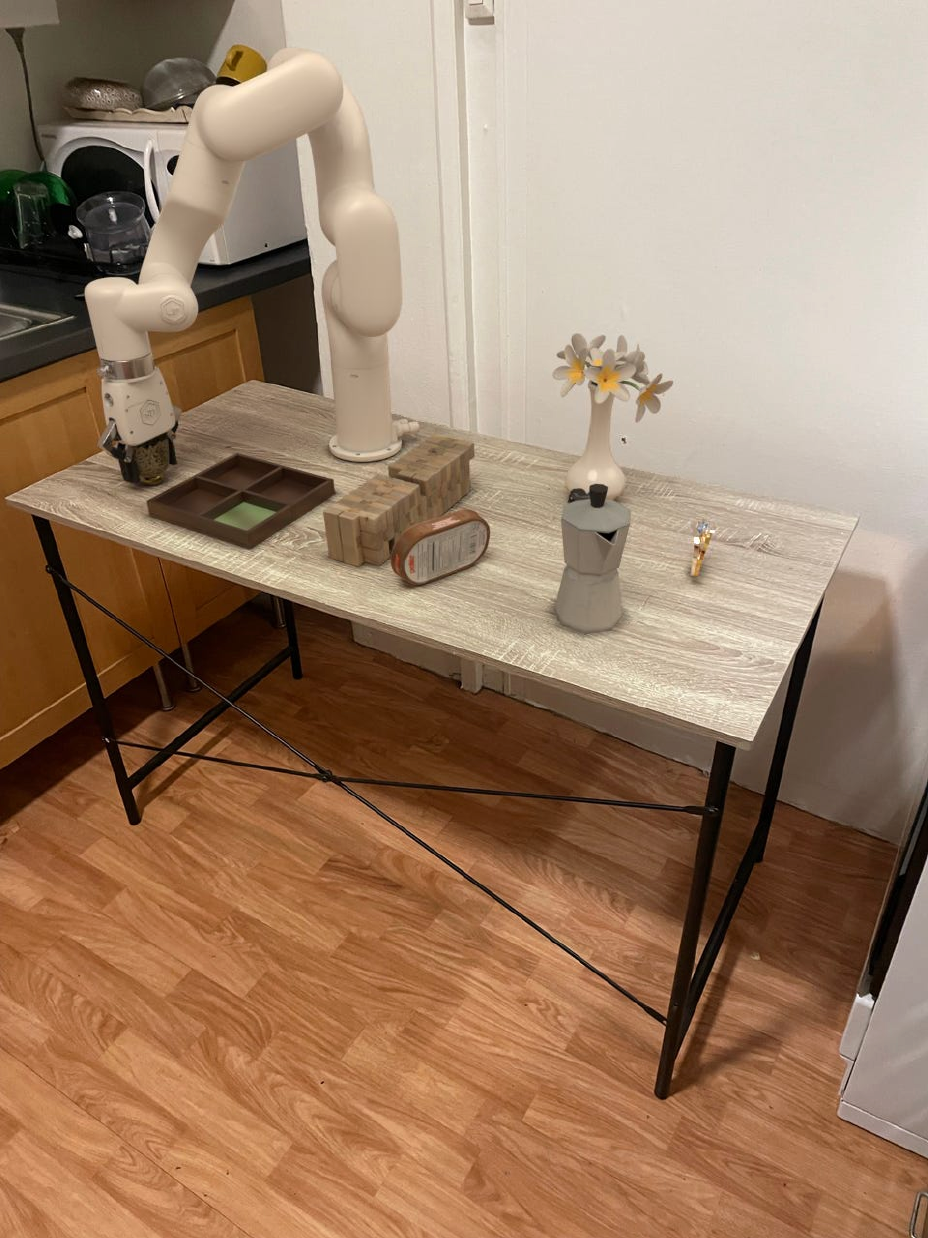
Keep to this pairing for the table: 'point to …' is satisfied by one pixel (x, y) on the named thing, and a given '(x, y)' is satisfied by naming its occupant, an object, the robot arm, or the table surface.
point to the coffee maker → (591, 560)
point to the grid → (241, 499)
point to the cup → (152, 459)
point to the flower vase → (605, 404)
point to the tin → (440, 546)
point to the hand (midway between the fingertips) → (150, 471)
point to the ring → (700, 543)
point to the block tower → (398, 500)
